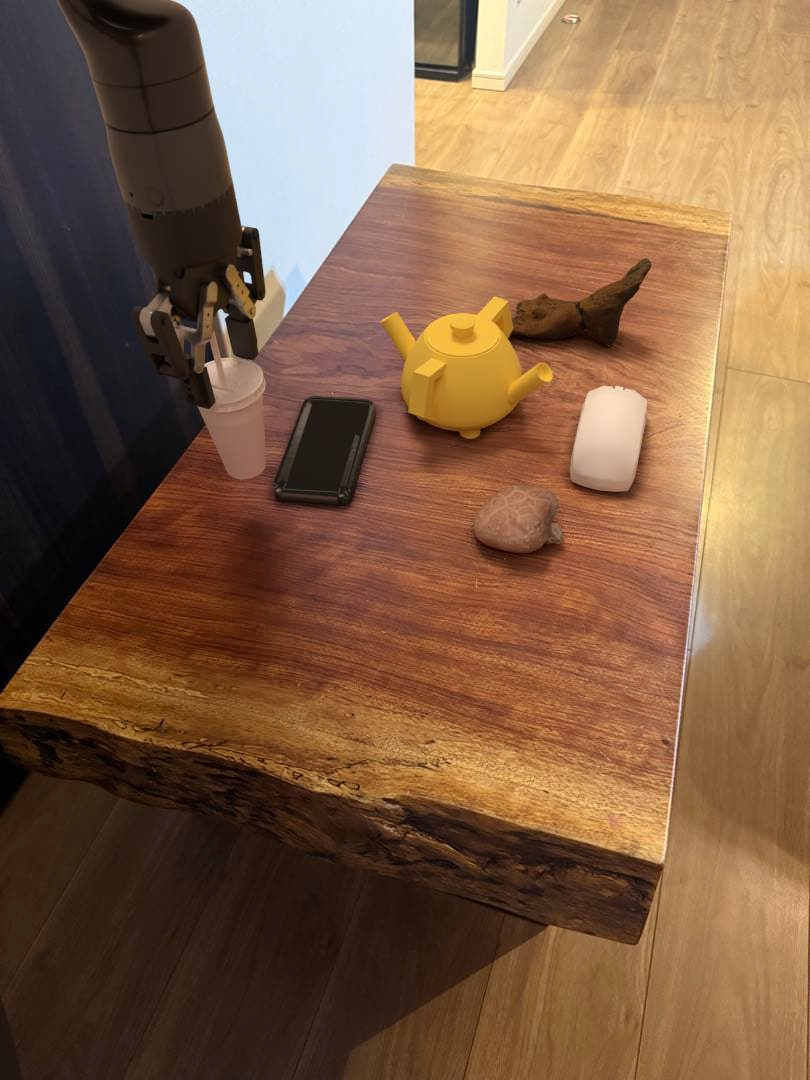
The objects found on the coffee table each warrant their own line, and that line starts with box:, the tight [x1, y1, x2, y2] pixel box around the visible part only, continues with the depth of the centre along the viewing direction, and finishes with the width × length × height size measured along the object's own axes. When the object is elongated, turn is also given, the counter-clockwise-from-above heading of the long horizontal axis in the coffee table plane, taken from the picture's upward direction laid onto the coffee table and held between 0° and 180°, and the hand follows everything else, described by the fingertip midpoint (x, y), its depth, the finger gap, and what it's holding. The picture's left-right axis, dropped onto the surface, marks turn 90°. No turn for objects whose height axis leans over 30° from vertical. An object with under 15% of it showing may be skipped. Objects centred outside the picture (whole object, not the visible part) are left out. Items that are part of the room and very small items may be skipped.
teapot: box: [380, 295, 554, 440], centre depth 87 cm, size 20×18×11 cm
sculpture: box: [510, 257, 652, 347], centre depth 96 cm, size 8×10×15 cm
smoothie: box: [196, 329, 267, 480], centre depth 72 cm, size 6×6×14 cm
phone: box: [272, 395, 376, 506], centre depth 86 cm, size 8×1×15 cm
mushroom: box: [472, 484, 565, 554], centre depth 77 cm, size 8×6×8 cm
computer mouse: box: [569, 385, 648, 493], centre depth 83 cm, size 6×13×6 cm, turn 163°
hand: (224, 379), depth 70 cm, fingers closed on smoothie, 6 cm apart
